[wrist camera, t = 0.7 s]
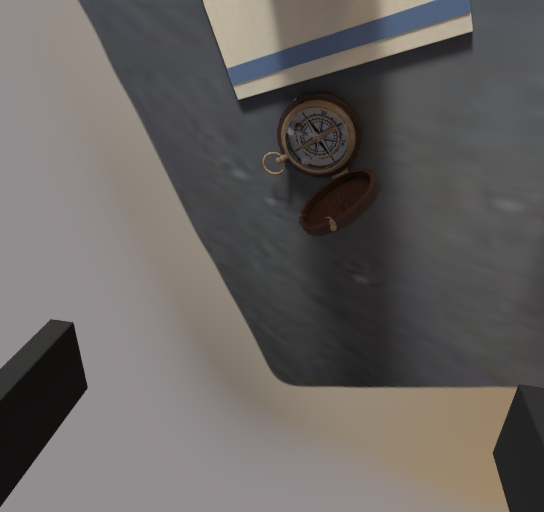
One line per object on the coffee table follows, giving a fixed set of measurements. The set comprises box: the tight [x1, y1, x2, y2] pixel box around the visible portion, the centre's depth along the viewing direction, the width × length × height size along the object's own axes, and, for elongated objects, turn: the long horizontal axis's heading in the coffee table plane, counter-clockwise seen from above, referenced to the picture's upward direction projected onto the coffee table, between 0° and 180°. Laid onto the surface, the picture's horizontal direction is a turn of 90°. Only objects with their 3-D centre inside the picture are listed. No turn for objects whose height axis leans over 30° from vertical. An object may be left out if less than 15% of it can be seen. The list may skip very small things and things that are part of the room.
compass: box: [263, 93, 380, 236], centre depth 32 cm, size 8×8×7 cm
